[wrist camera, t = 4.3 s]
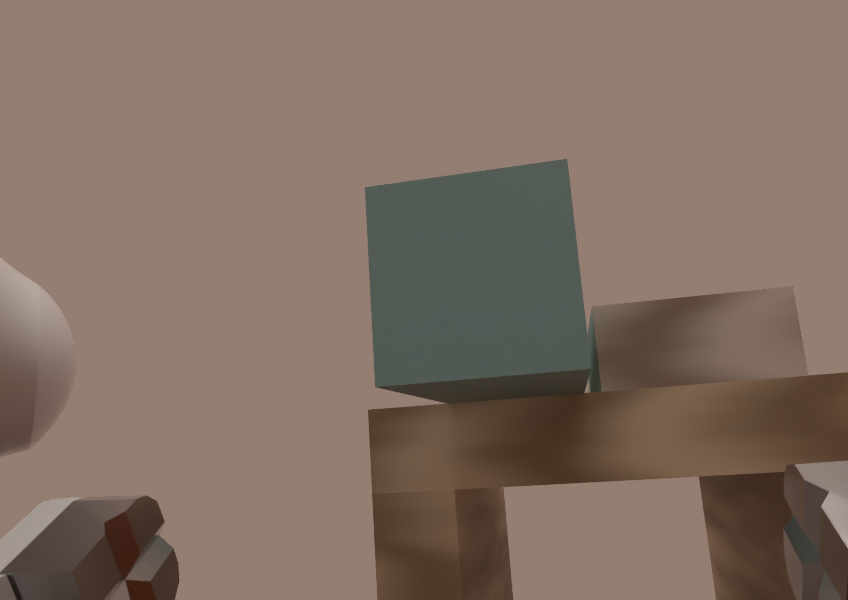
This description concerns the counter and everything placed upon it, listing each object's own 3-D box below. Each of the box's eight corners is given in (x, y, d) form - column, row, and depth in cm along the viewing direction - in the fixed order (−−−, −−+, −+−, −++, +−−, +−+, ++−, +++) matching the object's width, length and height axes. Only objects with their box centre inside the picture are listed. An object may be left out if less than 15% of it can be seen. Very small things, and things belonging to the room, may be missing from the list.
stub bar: (374, 387, 13) (364, 187, 14) (492, 413, 32) (485, 329, 33) (591, 368, 12) (567, 159, 13) (579, 407, 32) (570, 320, 32)
